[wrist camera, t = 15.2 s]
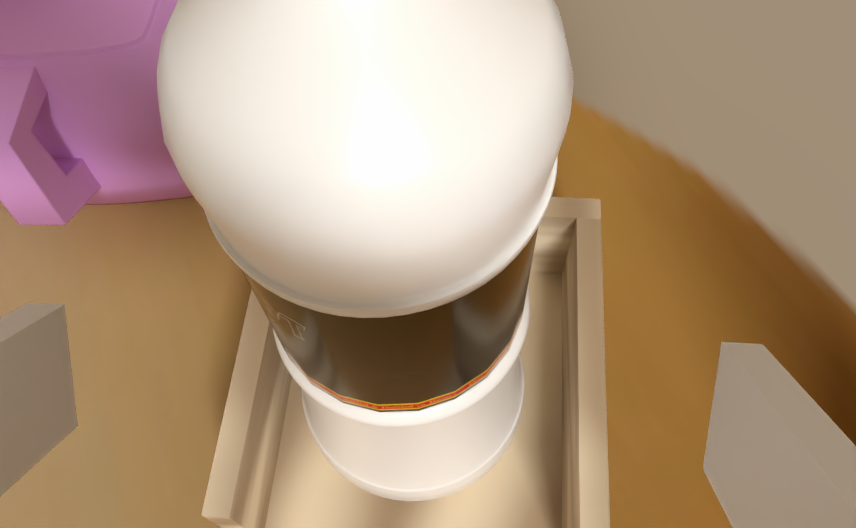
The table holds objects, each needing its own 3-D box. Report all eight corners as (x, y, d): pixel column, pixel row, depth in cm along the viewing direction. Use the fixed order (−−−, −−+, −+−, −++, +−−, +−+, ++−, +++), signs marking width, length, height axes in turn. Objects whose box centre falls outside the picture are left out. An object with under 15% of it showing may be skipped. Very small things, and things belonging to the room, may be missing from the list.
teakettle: (-81, 123, 43) (-261, -62, 32) (161, -29, 49) (76, -231, 38) (82, 308, 37) (-72, 156, 26) (337, 111, 42) (296, -83, 32)
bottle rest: (244, 542, 31) (201, 515, 26) (300, 251, 38) (274, 182, 33) (584, 571, 30) (610, 549, 25) (580, 267, 37) (600, 199, 32)
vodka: (495, 532, 30) (749, -434, 4) (280, 474, 32) (-599, -522, 5) (539, 327, 34) (802, -801, 8) (347, 283, 36) (42, -795, 10)
